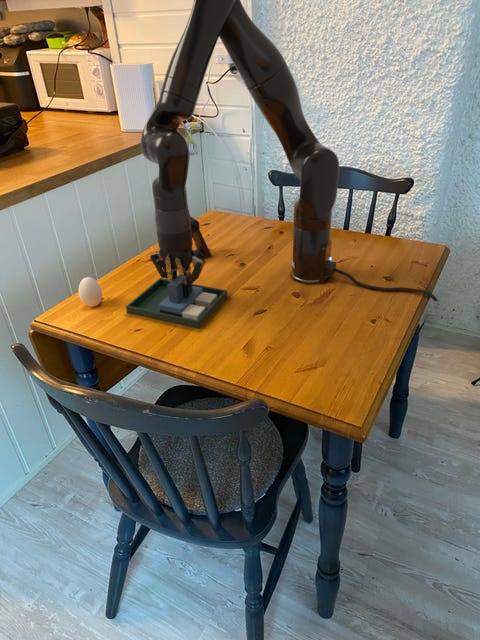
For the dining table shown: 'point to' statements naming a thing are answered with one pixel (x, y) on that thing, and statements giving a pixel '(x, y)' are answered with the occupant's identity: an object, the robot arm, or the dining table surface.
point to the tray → (158, 292)
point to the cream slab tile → (193, 312)
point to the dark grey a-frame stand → (199, 241)
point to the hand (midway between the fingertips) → (181, 294)
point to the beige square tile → (205, 299)
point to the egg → (90, 292)
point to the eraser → (178, 298)
